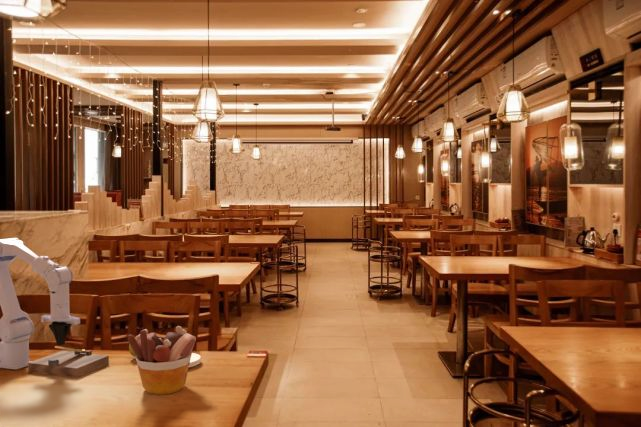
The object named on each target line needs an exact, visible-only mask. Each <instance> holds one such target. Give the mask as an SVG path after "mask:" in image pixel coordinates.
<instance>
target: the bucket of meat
mask: <svg viewBox="0 0 641 427" xmlns="http://www.w3.org/2000/svg"><path fill="white" fill-rule="evenodd" d="M175 330H176V332H171V331H169V332H166V335H165V336H164V338H163V339H162V338H161V337H159V336H158V335H157V334H156V332H150V333H149V330H148V329H147V328H145V329H142V330H140V332H139V334H138V335H136V336H137V340H136V339H135V337H136V336H135V335H133V334H128V335H127V340H126V341H128V343H129V344H130V345H131V347H132V349H133V351H134V352H135V354H136V356H135V361H136V363H137V364H136V365H137V368H138V372H139V377H140V381H141V385H142V388H144V390H145V391H146V392H147V393H148V394H150V395H154V396H155V395H157V396H164V395H165V396H166V395H172V394H175V393H177V392H180V391H181V390H182V388H183V387H184V386H185V385H186V382H187V377H188V373H189V372H188V371H189V368H190V367H189V364H190V359H191V355H192V353H193V349H194V346H195V344H196V340H197V337H196V336H195V335H192V334H190V333H187V330H186V329H185V328H184V329H183V327H182V326H180V325H177V326H175Z"/></svg>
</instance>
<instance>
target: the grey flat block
mask: <svg viewBox="0 0 641 427" xmlns="http://www.w3.org/2000/svg"><path fill="white" fill-rule="evenodd" d="M78 350H81V349H78ZM109 357H110V355H109V354H108V355H107V354H106V355H105V354H97V353H92V350H91V349H90V350H86V353H79V352H76V351H70V350H61V351H58V352H55V353H53V354H49V355H47V356H43V357H40V358H38V359H35V360H31V361H32V362H29V363H28V366H27V368H28V373H37V374H44V375H52V376H53V375H54V376H58V377H59V376H60V377H69V378H75V379H76V378H79V377H82V376H84V375H86V374H89V373H91V372H93V371H96V370H99V369H101V368H104V367H106V366H107V365H109V364H110V360H109V359H110V358H109Z"/></svg>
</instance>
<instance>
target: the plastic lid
mask: <svg viewBox="0 0 641 427" xmlns="http://www.w3.org/2000/svg"><path fill="white" fill-rule="evenodd" d="M200 363H202V357H201V355H200V354H198V353H195V352H192V355H191V359H190V364H189V368H192V367H196V366H197V365H199V364H200Z"/></svg>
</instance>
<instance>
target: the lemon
mask: <svg viewBox="0 0 641 427" xmlns="http://www.w3.org/2000/svg"><path fill="white" fill-rule="evenodd" d="M137 336H138V335H136V336H134V337H135V339H136V340H137ZM128 351H129V354H130V355H131V356H133V357H135V356H136V354H135V352H134V351H133V349H132V347H131V345H130V343H129V345H128Z"/></svg>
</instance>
